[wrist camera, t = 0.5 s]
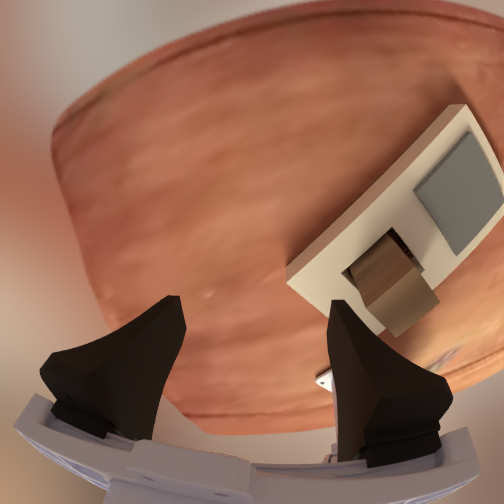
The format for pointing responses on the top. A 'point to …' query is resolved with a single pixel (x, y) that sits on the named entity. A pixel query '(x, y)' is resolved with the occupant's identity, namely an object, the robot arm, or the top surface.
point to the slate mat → (461, 193)
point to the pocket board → (391, 222)
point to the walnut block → (392, 286)
